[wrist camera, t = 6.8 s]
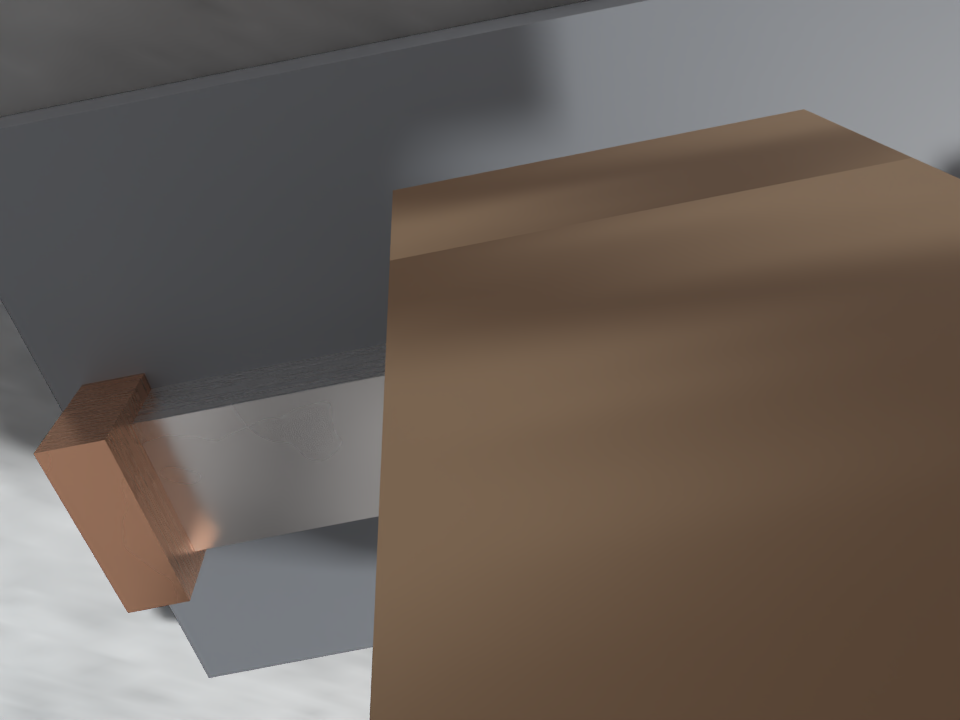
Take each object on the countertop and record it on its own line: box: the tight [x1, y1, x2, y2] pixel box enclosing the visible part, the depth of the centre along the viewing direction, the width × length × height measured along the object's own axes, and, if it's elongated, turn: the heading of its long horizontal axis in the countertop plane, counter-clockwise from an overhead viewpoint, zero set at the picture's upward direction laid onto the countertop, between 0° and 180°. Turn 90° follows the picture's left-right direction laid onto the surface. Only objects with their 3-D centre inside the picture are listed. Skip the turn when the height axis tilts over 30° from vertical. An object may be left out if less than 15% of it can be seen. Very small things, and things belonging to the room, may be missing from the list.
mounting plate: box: [0, 0, 960, 678], centre depth 13 cm, size 17×11×1 cm, turn 100°
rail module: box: [370, 109, 960, 720], centre depth 7 cm, size 4×9×7 cm, turn 10°
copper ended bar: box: [34, 343, 386, 613], centre depth 12 cm, size 16×3×2 cm, turn 100°
